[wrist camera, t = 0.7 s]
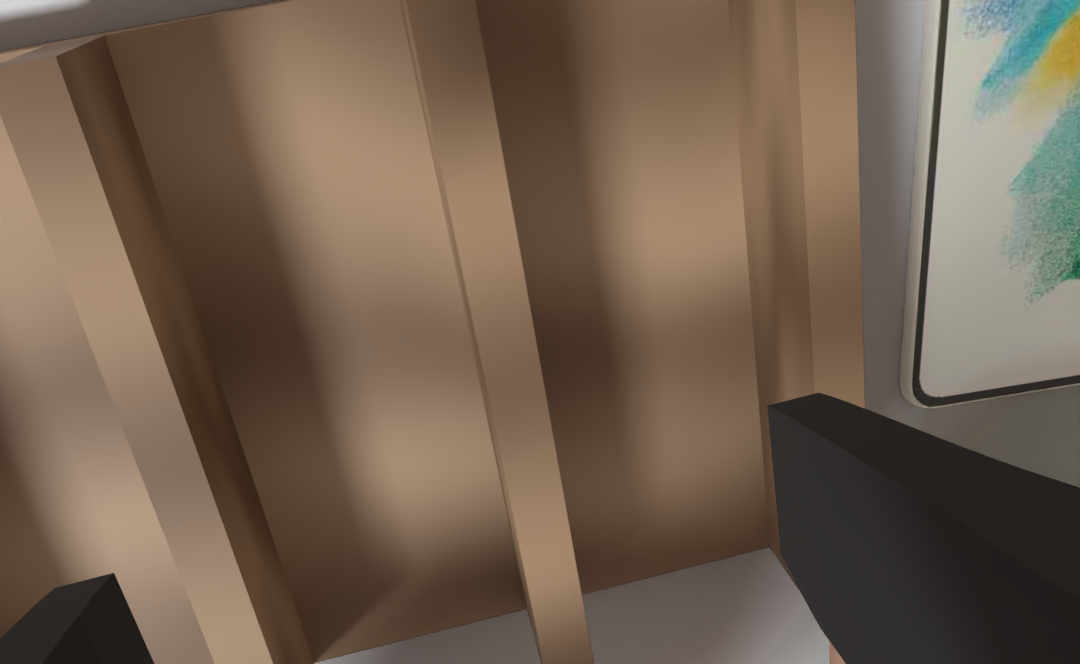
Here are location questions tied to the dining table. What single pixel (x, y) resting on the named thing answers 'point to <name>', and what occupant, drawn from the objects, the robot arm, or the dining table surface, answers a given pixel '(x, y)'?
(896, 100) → the dining table surface
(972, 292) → the smartphone
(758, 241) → the rack
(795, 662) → the dining table surface
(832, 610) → the robot arm
